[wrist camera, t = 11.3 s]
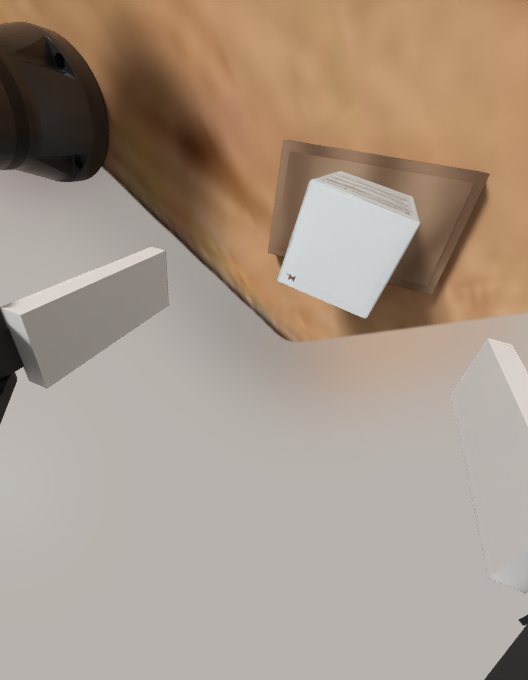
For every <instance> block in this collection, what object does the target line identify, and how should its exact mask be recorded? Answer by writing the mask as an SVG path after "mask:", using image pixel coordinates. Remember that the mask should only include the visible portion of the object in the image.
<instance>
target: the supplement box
mask: <svg viewBox="0 0 528 680" xmlns="http://www.w3.org/2000/svg"><path fill="white" fill-rule="evenodd" d="M419 225H420V220H419V217H418V213H417V209H416V206H415V202H414V199H413V197H412V196H409V195H406V194H403V193H401V192H398V191H395V190H392V189H390V188H387V187H384V186H382V185H379V184H376V183H373V182H370V181H368V180H365V179H362V178H359V177H356V176H354V175H351V174H348V173H345V172H342V171H339V172H335V173H332V174H329V175H325V176H323V177H320V178H316V179H311V180H310V182H309V184H308V187H307V190H306V193H305V196H304V200H303V203H302V206H301V209H300V212H299V215H298V218H297V221H296V224H295V227H294V230H293V233H292V235H291V238H290V242H289V246H288V249H287V252H286V255H285V258H284V261H283V264H282V267H281V270H280V273H279V276H278V279H277V282H279V283H281V284H284V285H286V286H289V287H291V288H294V289H296V290H299V291H301V292H303V293H306V294H308V295H310V296H313V297H315V298H317V299H320V300H322V301H324V302H326V303H329V304H331V305H333V306H336V307H338V308H341V309H343V310H345V311H347V312H350V313H352V314H355V315H357V316H359V317H362V318H365V319H366V318H367V317H368V316H369V314H370V312H371V311H372V309H373V308H374V306H375V304H376V302H377V301H378V299H379V297H380V295H381V294H382V292H383V290H384V289H385V287H386V285H387V283H388V282H389V280H390V278H391V276H392V274H393V273H394V271H395V269H396V267H397V265H398V264H399V262H400V260H401V258H402V256H403V255H404V253H405V251H406V249H407V248H408V246H409V244H410V242H411V240H412V239H413V237H414V235H415V233H416V231H417V229H418V227H419Z"/></svg>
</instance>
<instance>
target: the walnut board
mask: <svg viewBox="0 0 528 680" xmlns="http://www.w3.org/2000/svg"><path fill="white" fill-rule="evenodd" d="M339 171H342V172H345V173H348V174H351V175H354V176H356V177H359V178H362V179H365V180H368V181H370V182H373V183H376V184H379V185H382V186H384V187H387V188H390V189H392V190H395V191H398V192H401V193H403V194H406V195H409V196H412V197H413V199H414V202H415V206H416V209H417V213H418V217H419V220H420V225H419V227H418V229H417V231H416V233H415V235H414V237H413V239H412V240H411V242H410V244H409V246H408V248H407V249H406V251H405V253H404V255H403V256H402V258H401V260H400V262H399V264H398V265H397V267H396V269H395V271H394V273H393V274H392V276H391V278H390V280H389V282H388V283H389V284H392V285H396V286H400V287H404V288H408V289H412V290H416V291H420V292H424V293H428V294H432V293H433V291H434V289H435V287H436V285H437V283H438V281H439V279H440V277H441V275H442V273H443V271H444V268H445V266H446V264H447V262H448V260H449V258H450V256H451V254H452V252H453V250H454V248H455V246H456V243H457V241H458V239H459V237H460V235H461V233H462V231H463V229H464V227H465V225H466V223H467V221H468V218H469V216H470V214H471V212H472V210H473V208H474V206H475V204H476V202H477V200H478V198H479V196H480V193H481V191H482V189H483V187H484V185H485V183H486V181H487V179H488V177H489V175H490V174H488V173H485V172H479V171H473V170H467V169H461V168H454V167H448V166H442V165H436V164H430V163H424V162H418V161H412V160H406V159H400V158H393V157H387V156H381V155H375V154H369V153H363V152H357V151H351V150H345V149H339V148H332V147H326V146H320V145H314V144H308V143H302V142H296V141H290V140H283V146H282V154H281V161H280V168H279V175H278V183H277V190H276V197H275V204H274V212H273V219H272V226H271V233H270V241H269V248H268V253H271V254H274V255H278V256H282V257H285V255H286V252H287V249H288V246H289V242H290V238H291V235H292V233H293V230H294V227H295V224H296V221H297V218H298V215H299V212H300V209H301V206H302V203H303V200H304V196H305V193H306V190H307V187H308V184H309V182H310V180H311V179H316V178H320V177H323V176H325V175H329V174H332V173H335V172H339Z"/></svg>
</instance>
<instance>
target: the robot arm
mask: <svg viewBox="0 0 528 680" xmlns="http://www.w3.org/2000/svg"><path fill="white" fill-rule="evenodd" d="M107 145H108V124H107V116H106V111H105V107H104V103H103V99H102V96H101V93H100V90H99V88H98V85H97V83H96V81H95V78H94V77H93V75H92V73H91V71H90V69H89V67H88V66H87V64H86V62H85V61H84V59H83V58H82V57H81V55H80V54H79V53H78V52H77V50H76V49H75V48H74V47H73V46H72V45H71V44H70V43H69V42H68V41H67V40H66V39H64V38H63V37H62V36H60V35H59V34H57V33H55V32H54V31H51V30H49V29H46V28H43V27H40V26H37V25H34V24H30V23H26V22H12V23H4V24H0V170H12V169H16V170H19V171H23V172H26V173H30V174H34V175H37V176H41V177H45V178H48V179H52V180H55V181H60V182H73V181H82V180H86V179H89V178H90V177H92V176H93V175H95V174H96V173H97V171H98V170H99V169H100V167H101V166H102V164H103V161H104V159H105V156H106V152H107ZM168 305H169V304H168V284H167V266H166V251H165V250H162V249H158V248H155V247H149V248H146V249H144V250H141V251H139V252H136V253H134V254H131V255H129V256H126V257H124V258H121V259H119V260H116V261H114V262H111V263H109V264H107V265H104V266H102V267H99V268H97V269H94V270H92V271H89V272H87V273H84V274H82V275H80V276H77V277H74V278H72V279H69V280H67V281H64V282H62V283H59V284H57V285H54V286H52V287H49V288H47V289H44V290H42V291H39V292H37V293H35V294H32V295H29V296H27V297H25V298H22V299H20V300H17V301H15V302H12V303H10V304H7V305H5V306H2V307H0V423H1V421H2V418H3V416H4V413H5V410H6V408H7V405H8V403H9V400H10V397H11V395H12V392H13V390H14V387H15V385H16V382H17V376H16V374H15V371H17V370H18V369H20V368H22V367H24V369H25V372H26V374H27V377H28V379H29V381H31V382H33V383H36V384H38V385H40V386H43V387H45V388H48V387H50V386H51V385H53V384H54V383H56V382H57V381H59V380H60V379H62V378H63V377H65V376H66V375H68V374H69V373H70V372H71V371H73V370H75V369H76V368H77V367H79V366H81V365H82V364H84V363H85V362H86V361H88V360H89V359H91V358H92V357H94V356H95V355H97V354H98V353H99V352H101V351H102V350H104V349H105V348H107V347H108V346H110V345H111V344H112V343H114V342H116V341H117V340H119V339H120V338H121V337H123V336H124V335H126V334H127V333H128V332H130V331H131V330H133V329H135V328H136V327H137V326H139V325H140V324H142V323H143V322H145V321H146V320H148V319H149V318H151V317H152V316H153V315H155V314H156V313H158V312H159V311H161V310H162V309H164V308H165V307H166V306H168ZM451 398H452V403H453V407H454V412H455V417H456V422H457V427H458V432H459V437H460V442H461V447H462V452H463V456H464V461H465V466H466V471H467V476H468V481H469V486H470V491H471V495H472V501H473V505H474V511H475V515H476V520H477V525H478V530H479V535H480V540H481V545H482V550H483V555H484V560H485V564H486V570H487V574H488V578H490V579H492V580H495V581H497V582H500V583H502V584H504V585H506V586H509V587H511V588H514V589H516V590H518V591H520V592H523V593H527V592H528V373H527V371H526V370H525V368H524V366H523V364H522V362H521V360H520V358H519V357H518V355H517V353H516V351H515V350H514V348H513V346H512V345H511V344H507V343H503V342H500V341H496V340H493V339H489V338H487V340H486V341H485V343H484V344H483V346H482V347H481V349H480V351H479V352H478V354H477V355H476V357H475V358H474V360H473V361H472V363H471V365H470V366H469V367H468V369H467V370H466V372H465V374H464V375H463V377H462V378H461V380H460V381H459V383H458V384H457V386H456V387H455V389H454V390H453V392H452V394H451ZM519 621H520V622H521V623H522V625H526V624H527V625H526V627H525V628H524V629H523V631H522V632H521V633H520V634H519V636H518V637H517V638H516V640H515V641H514V642H513V643H512V645H511V646H510V647H509V649H508V650H507V651H506V652H505V654H504V655H503V656H502V658H501V659H500V660H499V662H498V663H497V664H496V665H495V667H494V668H493V669H492V671H491V672H490V673H489V674H488V676H487V677H486V678H485V680H528V615H527V616H525V617H523V618H521V619H519Z"/></svg>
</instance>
